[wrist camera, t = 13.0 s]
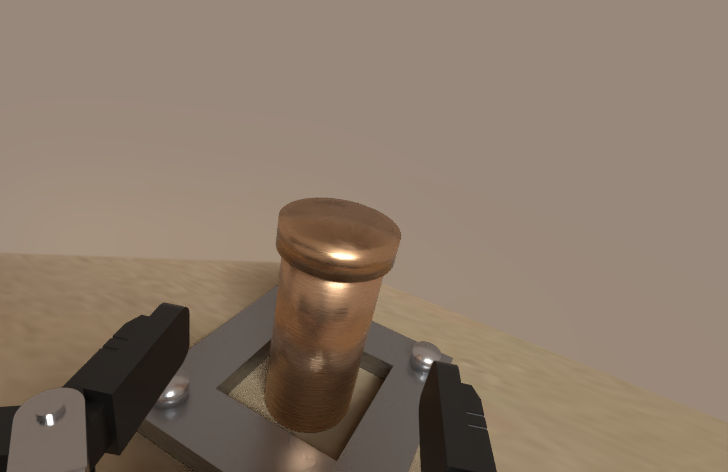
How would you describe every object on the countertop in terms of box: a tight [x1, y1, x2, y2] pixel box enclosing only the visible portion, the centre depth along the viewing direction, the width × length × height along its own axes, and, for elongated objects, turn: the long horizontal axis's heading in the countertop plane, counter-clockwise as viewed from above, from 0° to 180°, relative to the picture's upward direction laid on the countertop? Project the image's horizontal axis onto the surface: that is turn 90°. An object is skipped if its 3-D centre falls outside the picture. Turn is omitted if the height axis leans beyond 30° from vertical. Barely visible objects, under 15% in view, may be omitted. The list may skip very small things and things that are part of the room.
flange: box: [137, 285, 453, 472], centre depth 20 cm, size 12×12×2 cm
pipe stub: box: [265, 198, 401, 433], centre depth 19 cm, size 5×5×10 cm
